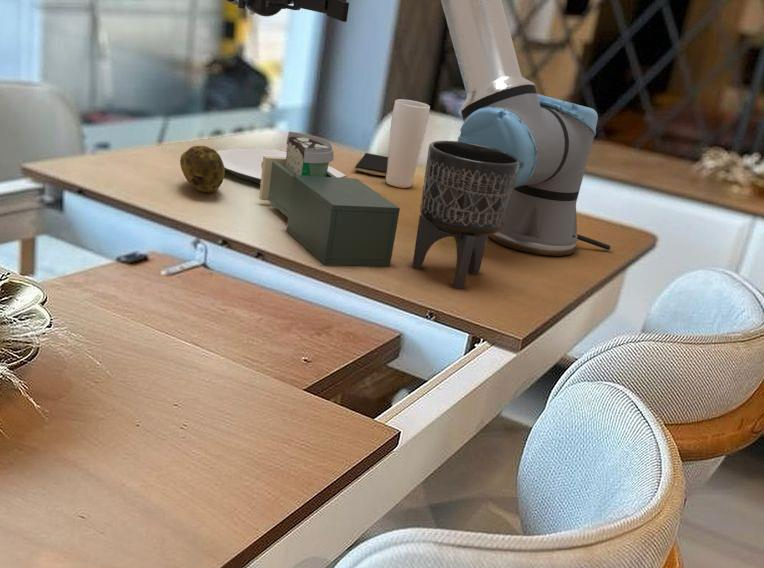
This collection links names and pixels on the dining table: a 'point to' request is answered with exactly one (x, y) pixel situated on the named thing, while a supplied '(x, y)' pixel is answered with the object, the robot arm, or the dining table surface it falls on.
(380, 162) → the smartphone
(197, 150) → the potato
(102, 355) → the dining table surface
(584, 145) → the robot arm
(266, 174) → the drawer
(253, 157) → the plate
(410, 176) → the drinking glass
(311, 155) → the food container
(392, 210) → the cabinet
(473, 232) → the planter
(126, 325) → the dining table surface
